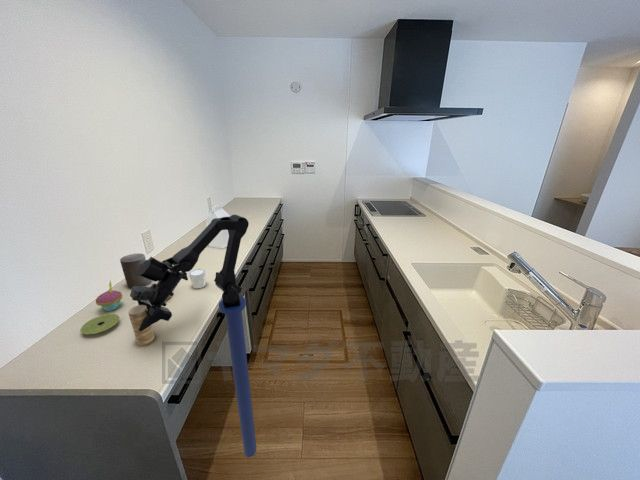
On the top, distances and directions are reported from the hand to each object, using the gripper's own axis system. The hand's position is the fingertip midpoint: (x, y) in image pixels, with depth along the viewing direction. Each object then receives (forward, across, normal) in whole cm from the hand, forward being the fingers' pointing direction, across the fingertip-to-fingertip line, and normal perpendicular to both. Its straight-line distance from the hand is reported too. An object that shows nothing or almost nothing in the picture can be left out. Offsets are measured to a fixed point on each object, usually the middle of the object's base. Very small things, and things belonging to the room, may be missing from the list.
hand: (137, 326), depth 88 cm
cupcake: (+6, -31, +3) cm, 31 cm away
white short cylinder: (-17, -22, +26) cm, 38 cm away
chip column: (+4, 0, +6) cm, 7 cm away
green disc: (+10, -19, -1) cm, 21 cm away
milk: (-40, -63, +50) cm, 90 cm away
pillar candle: (-3, -45, +13) cm, 47 cm away
